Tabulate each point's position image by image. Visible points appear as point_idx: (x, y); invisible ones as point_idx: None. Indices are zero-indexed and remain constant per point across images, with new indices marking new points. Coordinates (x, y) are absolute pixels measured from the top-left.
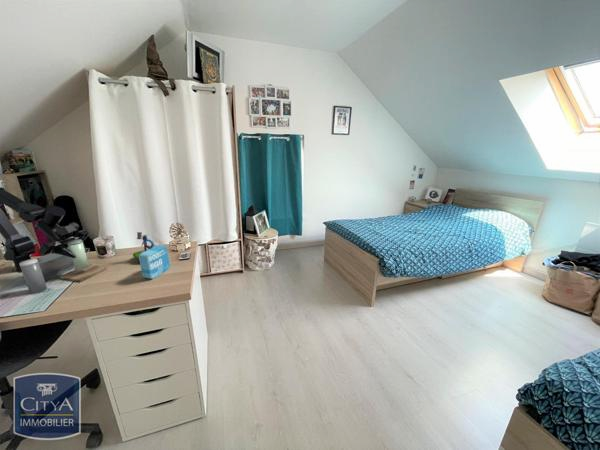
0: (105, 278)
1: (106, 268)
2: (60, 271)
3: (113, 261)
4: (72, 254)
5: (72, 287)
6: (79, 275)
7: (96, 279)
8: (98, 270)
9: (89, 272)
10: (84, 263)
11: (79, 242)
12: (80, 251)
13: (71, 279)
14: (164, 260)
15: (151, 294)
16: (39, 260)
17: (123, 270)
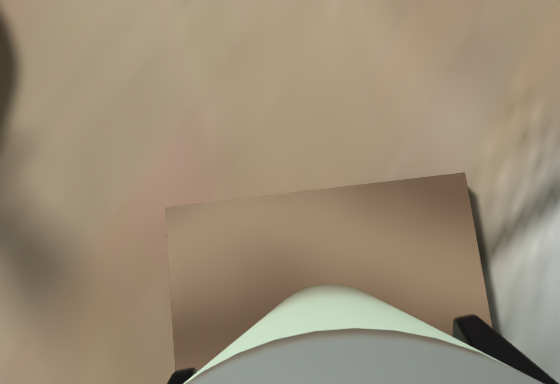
0: (311, 32)
1: (170, 209)
2: None
3: (8, 339)
4: (521, 362)
5: (551, 143)
6: (403, 294)
7: (357, 90)
8: (245, 215)
9: (314, 261)
10: (331, 286)
11: (305, 349)
12: (353, 298)
13: (483, 302)
14: None
15: None
16: None
17: (137, 31)
